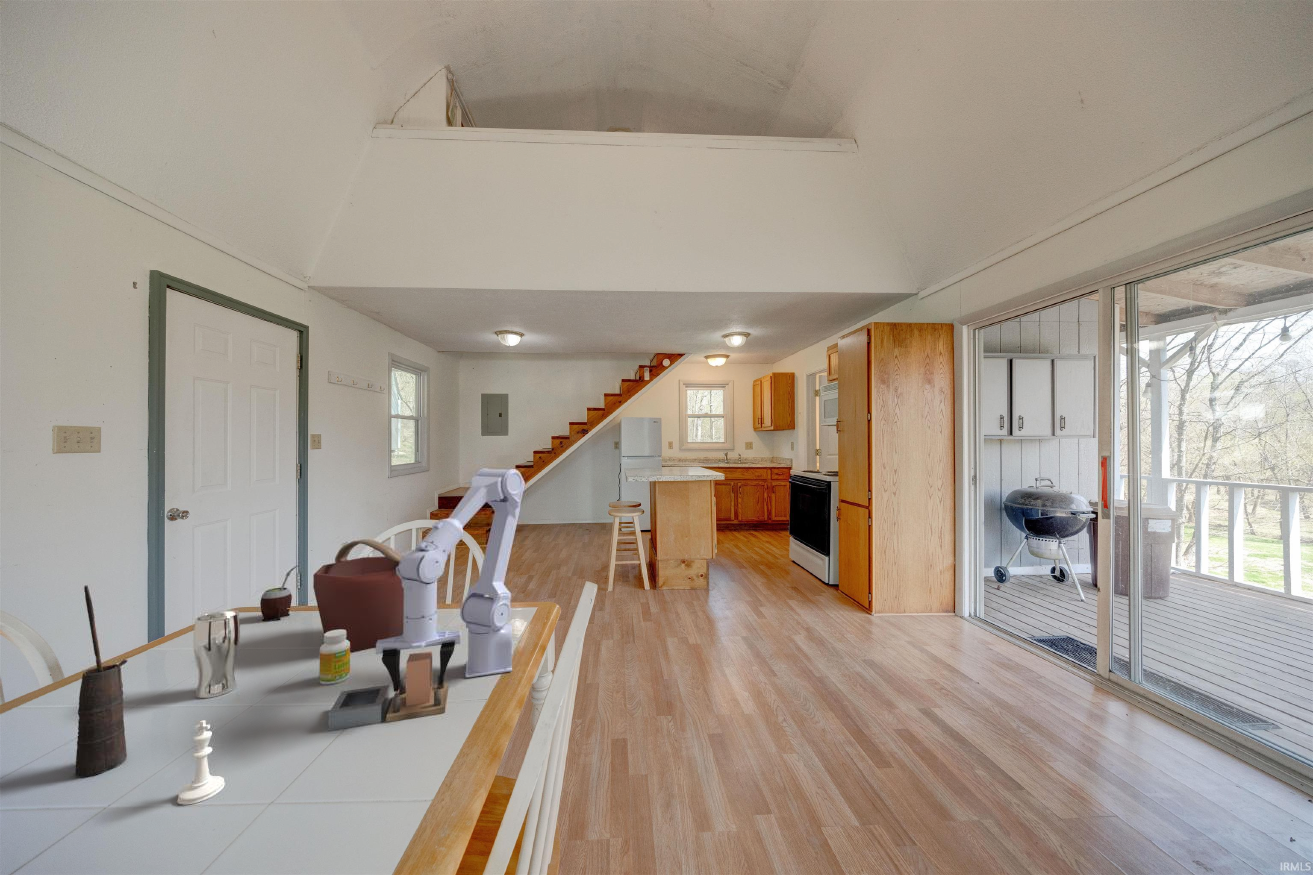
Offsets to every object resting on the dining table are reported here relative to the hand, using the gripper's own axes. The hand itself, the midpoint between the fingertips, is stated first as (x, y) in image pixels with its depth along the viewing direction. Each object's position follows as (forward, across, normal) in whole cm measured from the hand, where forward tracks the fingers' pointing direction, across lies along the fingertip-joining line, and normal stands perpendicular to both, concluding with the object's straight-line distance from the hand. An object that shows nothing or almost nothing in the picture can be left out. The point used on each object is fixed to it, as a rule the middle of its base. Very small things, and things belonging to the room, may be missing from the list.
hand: (419, 685), depth 93 cm
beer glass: (+4, -39, +19) cm, 44 cm away
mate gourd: (+4, -44, +65) cm, 79 cm away
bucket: (+4, -17, +39) cm, 43 cm away
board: (+3, 0, 0) cm, 3 cm away
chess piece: (+4, -26, -16) cm, 31 cm away
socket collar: (+3, -10, 0) cm, 10 cm away
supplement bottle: (+4, -18, +17) cm, 25 cm away
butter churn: (+4, -43, -3) cm, 43 cm away
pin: (+2, 0, 0) cm, 2 cm away
